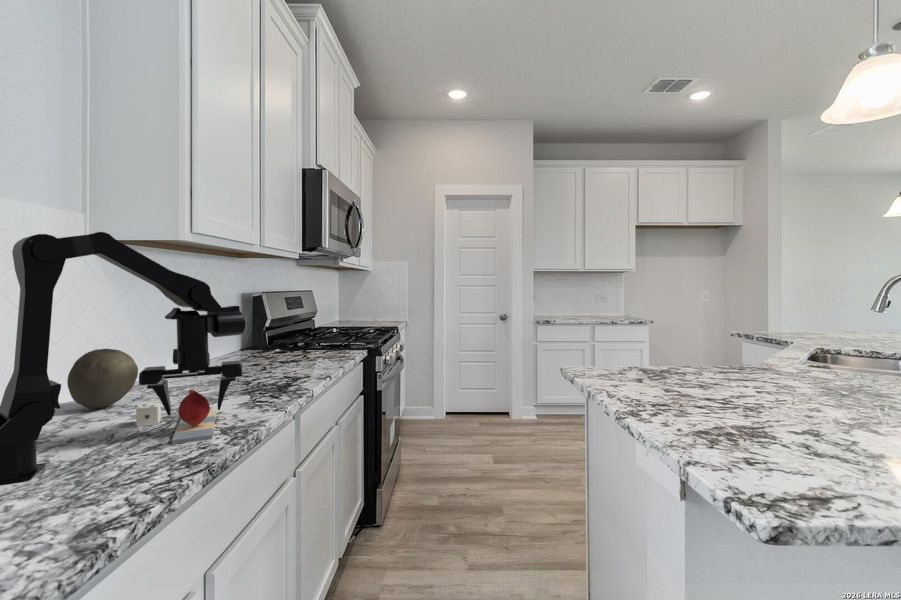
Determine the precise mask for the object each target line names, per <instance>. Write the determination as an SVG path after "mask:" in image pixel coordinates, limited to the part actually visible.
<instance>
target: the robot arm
mask: <svg viewBox="0 0 901 600" xmlns="http://www.w3.org/2000/svg"><path fill="white" fill-rule="evenodd" d="M11 253H12V259H13V265H14V266H13V267H14V270H15V274H16V278H17V281H18V282H17V283H18V285H19V298H18V299H19V301H18V314H17V324H16V325H17V326H16V328H17V329H16V336H15V337H16V338H15V340H16V341H15V351H14V366H13V371H12V374H11V377H10V379H9V381H8V383H7V385H6V387H5V389H4V392H3V395H2V399H1V402H0V485H2V484H8V483H16V482H22V481H29V480H32V479H33V478H35V477H36V475H38V473H40V472H41V471H42V470H43V469H44V468H45V467H46V463H45V462H43V463H42V462H41V463H38V460H37V459H38V458H37V456H38V455H37V440H38V439H39V436H40V434H41V432H42V429H43V427H45V426H46V425H47V424H48V423H49V422H50V421H52V419H53V418H54V415H55V412H56V409H58V410H60V409H61V405H60V402H59V397H60V393H61V389H62V384H61V383H59V382H58V381H57V382H56V381H55V380H52V379H51V380H50V378H49V375H48V365H49V364H48V363H49V352H50V351H49V349H50V337H51V325H52V312H53V299H54V298H53V297H54V290H55V287H56V285H57V283H58V282H59V278H60V277H61V275H62V273H63V269H64V267H65V263H66V260H67V259H73V258H81V257H85V256H92V255H93V256H97V257H99V258H100V259H103V260H104V261H106V262H108V263H110V264H112V265H113V266H116V267H118V268H120V269H122V270H123V271H125V272H128V273H129V274H130V275H131V274H132V275H133V276H135V277H137V278H139V279H140V280H142V281H145V283H149V284H150V285H152V286H153V287H155V288H156V289H158V290H159V291H160V292H161V293H162V294H163V295H164V297H166V298H167V299H169V300H170V301H171V302H172V303H173V304H175V305H177V306H179V307H173V308H172V309H171V311H170V312H168V313H167V314H165V316H164V319H165V320H176V342H177V343H176V344H177V346H176V347H177V348H174V349H173V350H172V363H173V364H174V365H177V368H173V369H172V368H171V369H166V365H160V366H147V367H145V368H143V370H142V371H140V372H138V386H146V389H148V390H151V389H152V390H153V391H154V393H155V394H156V396H157V397H158V399H159V400H160V403H161V404H162V406H163V408H164V411H165V412H166V415H167V416H171V415H172V405H171V400H170V399H171V398H170V392H169V384H168V383H169V381H168V379H179V378H180V379H181V378H191V377H193V378H194V377H203V376H205V377H206V376H215V375H221V376H220V380H219V381H220V382H219V391H218V397H217V410H218V411H220V410H221V407H222V404H223V401H224V399H225V395H226V393H227V390H228V388H229V386H230V384H231V382H236V379H237V378H240V377H243V364H242V362H241V361H240V360H231V361H229V360H227V361H222V362H221V365H214V366H210V365H211V363H210V361H211V360H210V355H211V354H210V353H209V334H210V335H211V336H212V337H214V338H219V337H220V338H221V337H222V338H223V337H231V336H241V335H243V334H244V332H245V329H246V320H245V318H244V315H243V312H241V310H240V308H241V307H240V306H239V305H229V306H221V305H220V303H219V302H218V301H217V300H216V299H215V297H214V295H212V290H211V287H210V285H209V284H208V283H206V282H205V281H203V280H200V279H197V278H195V277H192V276H189V275H185V274H182V273H179V272H175V271H173V270H170V269H169V268H167V267H165V266H163V265H161V264H160V263H158V262H156V261H154V260H153V259H152V258H150V257H147V256H146V255H144V254H142V253H141V252H139V251H137V250H135V249H133V248H132V247H130V246H128V245H126V244H125V243H123V242H122V241H120V240H118V239H116V238H114V237H113V236H112V235H111V234H110V233H107V232H104V231H98V232H93V233H89V234H81V235H73V236H66V237H56V236H54V235H52V234H46V233H38V234H34V235H30V236H26V237H24V238H21V239H20V240H18V241H17V242H15V244H14V245H13V248H12V252H11ZM180 307H181V308H190V309H192V310H182V309H181V308H180ZM199 312H206V314H200V313H199ZM187 371H188V372H187Z"/></svg>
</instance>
